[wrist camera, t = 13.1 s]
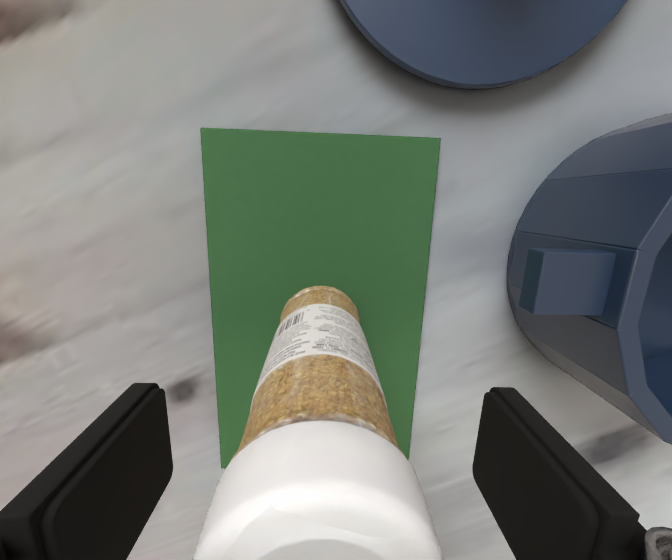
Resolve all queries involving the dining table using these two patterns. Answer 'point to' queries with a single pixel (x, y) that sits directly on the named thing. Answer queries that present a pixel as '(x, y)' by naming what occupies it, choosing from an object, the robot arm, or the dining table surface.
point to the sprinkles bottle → (318, 453)
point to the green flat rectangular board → (316, 251)
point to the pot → (604, 270)
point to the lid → (479, 36)
